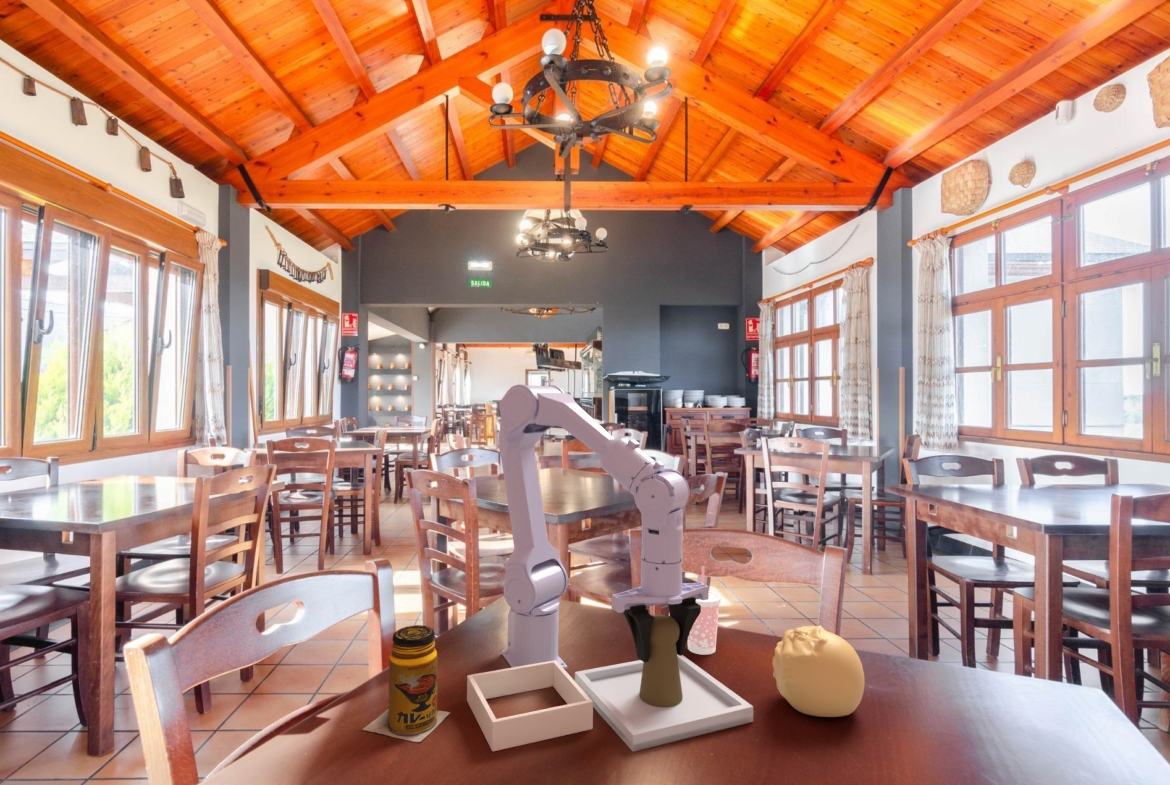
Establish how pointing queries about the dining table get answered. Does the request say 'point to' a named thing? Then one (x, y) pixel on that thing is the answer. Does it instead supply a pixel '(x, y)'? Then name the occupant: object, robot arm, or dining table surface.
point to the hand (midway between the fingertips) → (660, 656)
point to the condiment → (411, 687)
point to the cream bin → (532, 723)
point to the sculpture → (818, 672)
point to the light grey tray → (652, 726)
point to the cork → (662, 665)
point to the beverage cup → (705, 624)
